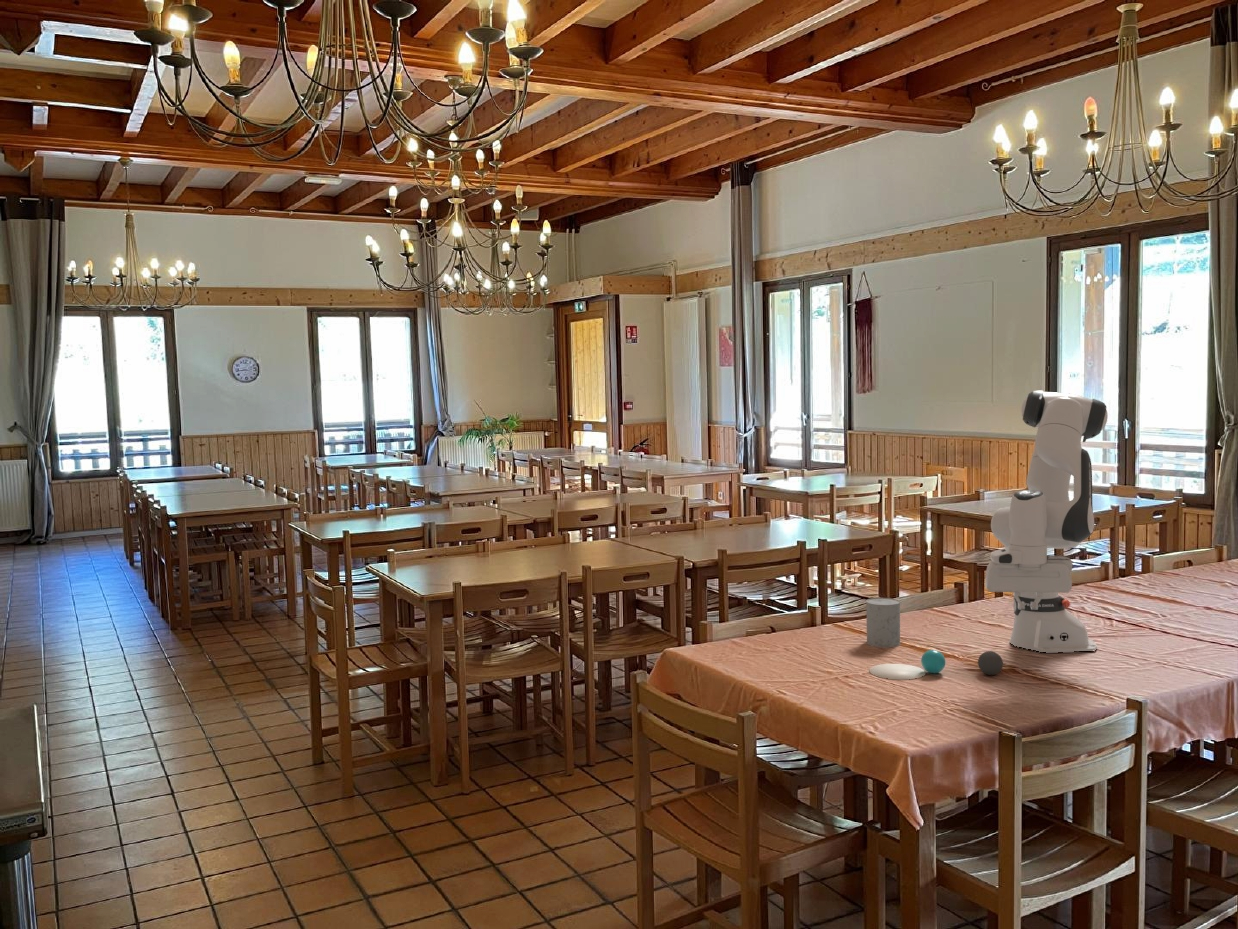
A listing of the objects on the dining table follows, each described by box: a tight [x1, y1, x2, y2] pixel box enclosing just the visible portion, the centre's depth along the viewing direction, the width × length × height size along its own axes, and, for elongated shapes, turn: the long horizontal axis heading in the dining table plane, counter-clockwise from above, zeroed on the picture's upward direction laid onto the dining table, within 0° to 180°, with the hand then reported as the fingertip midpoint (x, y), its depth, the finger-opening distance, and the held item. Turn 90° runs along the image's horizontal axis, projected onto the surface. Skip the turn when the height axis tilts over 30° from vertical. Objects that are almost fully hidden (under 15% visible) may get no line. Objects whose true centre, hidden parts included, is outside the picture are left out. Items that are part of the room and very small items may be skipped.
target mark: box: [869, 663, 926, 681], centre depth 260 cm, size 14×14×1 cm
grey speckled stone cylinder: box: [865, 597, 901, 649], centre depth 289 cm, size 10×10×12 cm
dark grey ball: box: [977, 650, 1004, 676], centre depth 255 cm, size 6×6×6 cm
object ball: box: [920, 649, 946, 674], centre depth 258 cm, size 6×6×6 cm
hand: (1027, 609), depth 253 cm, fingers closed
